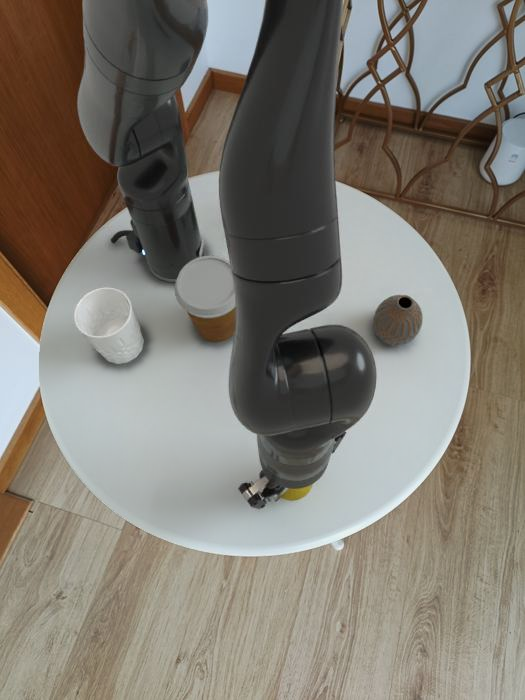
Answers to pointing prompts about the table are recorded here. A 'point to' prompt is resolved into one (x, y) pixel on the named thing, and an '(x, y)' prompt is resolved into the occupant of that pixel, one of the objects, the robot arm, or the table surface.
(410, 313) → the vase
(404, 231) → the table surface
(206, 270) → the disposable coffee cup
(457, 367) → the table surface
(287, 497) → the lemon
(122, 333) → the white cup
